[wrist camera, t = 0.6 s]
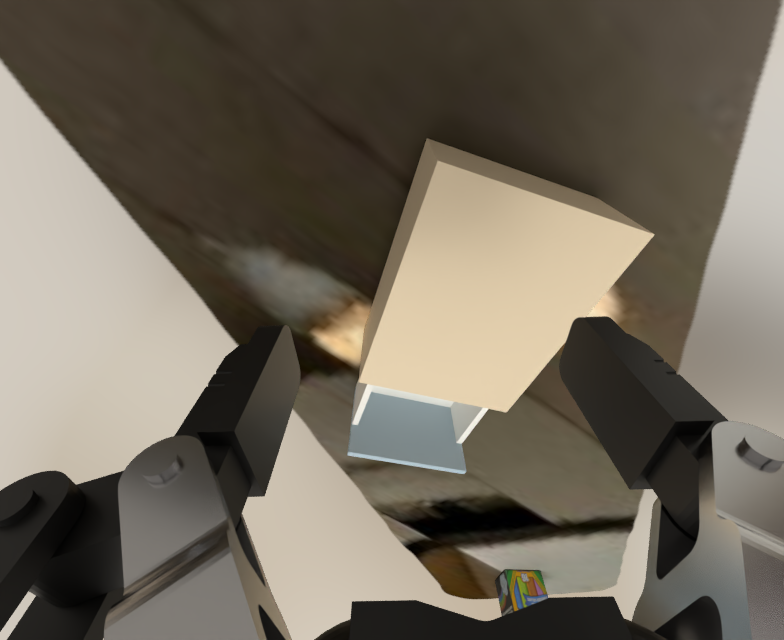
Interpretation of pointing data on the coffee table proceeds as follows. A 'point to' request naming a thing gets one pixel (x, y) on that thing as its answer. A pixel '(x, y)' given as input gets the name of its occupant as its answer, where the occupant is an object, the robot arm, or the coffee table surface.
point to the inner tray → (410, 428)
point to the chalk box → (519, 589)
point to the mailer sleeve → (488, 279)
